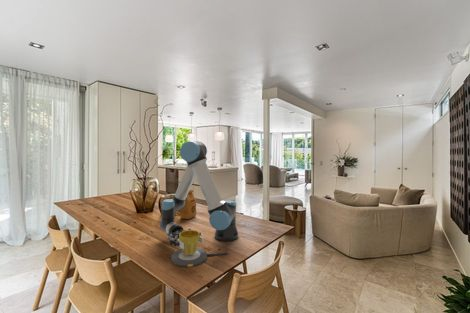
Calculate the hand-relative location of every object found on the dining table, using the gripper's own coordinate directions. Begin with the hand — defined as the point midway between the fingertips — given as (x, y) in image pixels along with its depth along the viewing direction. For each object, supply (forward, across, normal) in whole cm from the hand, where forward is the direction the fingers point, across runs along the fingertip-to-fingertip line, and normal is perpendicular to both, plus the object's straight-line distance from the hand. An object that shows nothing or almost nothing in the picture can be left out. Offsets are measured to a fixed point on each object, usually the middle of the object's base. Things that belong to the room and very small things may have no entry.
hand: (193, 243), depth 114 cm
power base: (-2, -5, -9) cm, 10 cm away
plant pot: (-4, 0, -6) cm, 8 cm away
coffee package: (-65, -31, -9) cm, 73 cm away
